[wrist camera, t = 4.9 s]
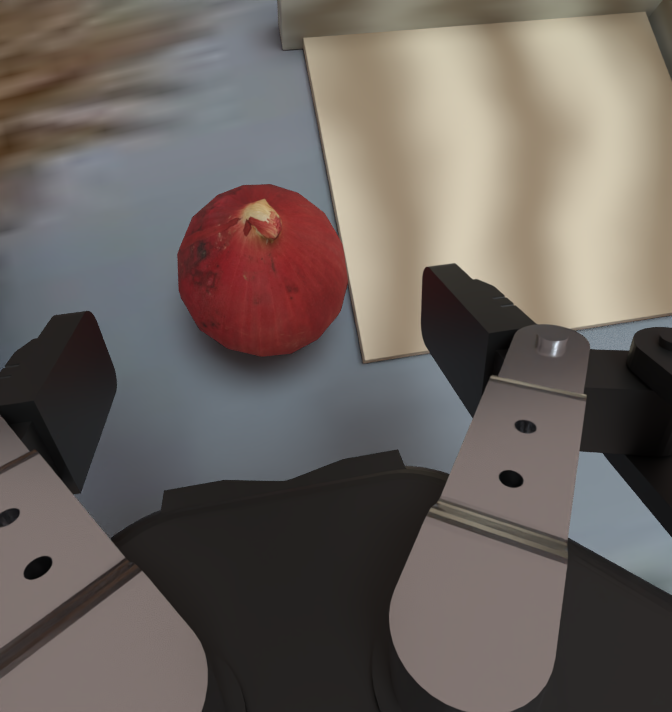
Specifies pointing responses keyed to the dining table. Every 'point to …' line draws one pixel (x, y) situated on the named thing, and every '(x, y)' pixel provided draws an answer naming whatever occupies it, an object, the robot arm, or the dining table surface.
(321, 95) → the tray
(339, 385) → the dining table surface
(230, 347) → the pomegranate
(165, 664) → the robot arm
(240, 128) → the dining table surface
